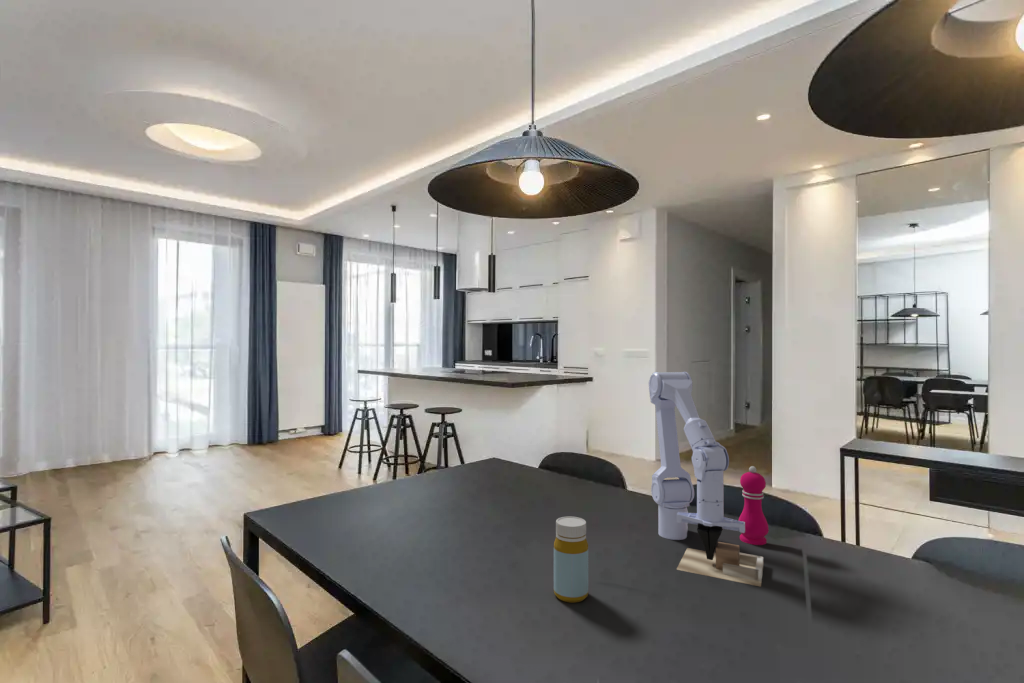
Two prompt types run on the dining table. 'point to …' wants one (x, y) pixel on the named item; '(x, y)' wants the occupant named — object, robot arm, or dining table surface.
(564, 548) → the bottle
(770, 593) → the dining table surface
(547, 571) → the dining table surface
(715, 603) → the dining table surface
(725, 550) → the block
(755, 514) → the pepper mill
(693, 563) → the board
